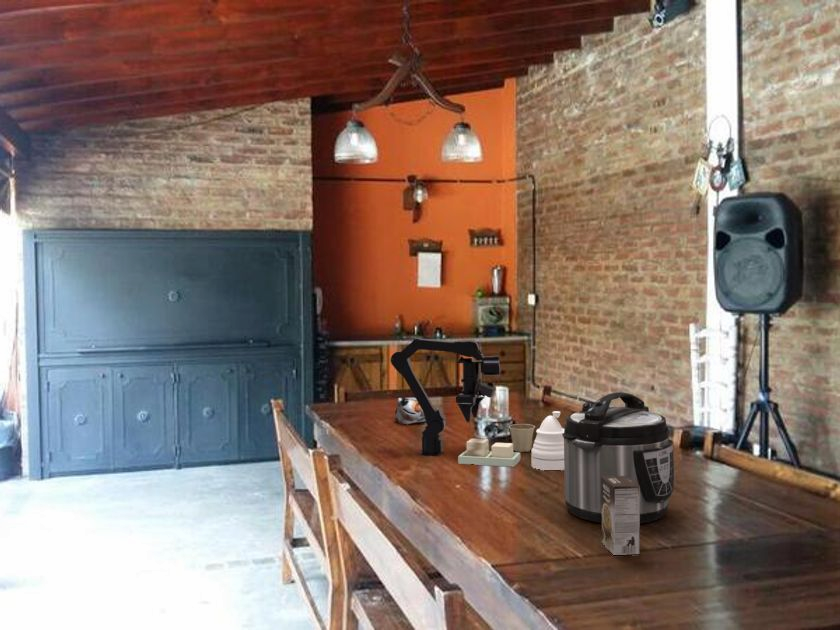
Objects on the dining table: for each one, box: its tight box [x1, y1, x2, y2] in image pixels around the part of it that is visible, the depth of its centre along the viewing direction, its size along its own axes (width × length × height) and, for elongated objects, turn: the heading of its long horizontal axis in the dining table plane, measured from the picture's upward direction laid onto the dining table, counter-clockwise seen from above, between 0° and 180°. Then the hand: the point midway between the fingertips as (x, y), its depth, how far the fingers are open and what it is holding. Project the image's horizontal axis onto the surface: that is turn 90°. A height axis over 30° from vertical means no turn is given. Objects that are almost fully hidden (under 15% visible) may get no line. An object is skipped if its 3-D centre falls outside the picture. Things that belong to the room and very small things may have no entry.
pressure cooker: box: [562, 391, 675, 524], centre depth 219 cm, size 30×28×32 cm
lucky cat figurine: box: [394, 397, 426, 425], centre depth 354 cm, size 15×12×14 cm
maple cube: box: [466, 438, 490, 457], centre depth 281 cm, size 6×6×6 cm
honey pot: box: [530, 410, 564, 471], centre depth 272 cm, size 13×13×18 cm
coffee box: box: [601, 476, 641, 556], centre depth 191 cm, size 9×6×16 cm
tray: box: [457, 442, 521, 468], centre depth 280 cm, size 19×10×6 cm, turn 71°
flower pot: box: [508, 423, 536, 453], centre depth 297 cm, size 9×9×9 cm
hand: (471, 419), depth 293 cm, fingers open, 9 cm apart
